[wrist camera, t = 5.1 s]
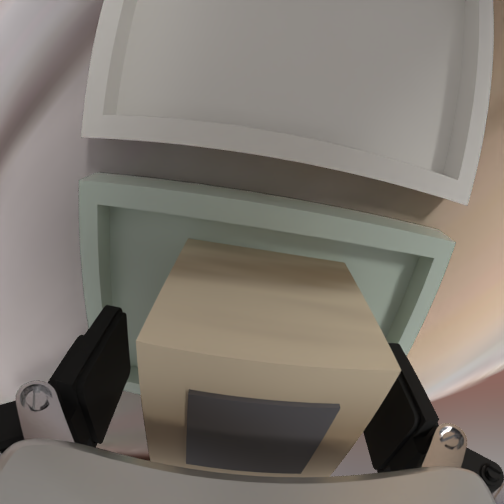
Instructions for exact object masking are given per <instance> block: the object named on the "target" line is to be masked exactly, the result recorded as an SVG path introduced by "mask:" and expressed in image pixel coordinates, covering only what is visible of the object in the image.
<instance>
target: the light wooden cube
mask: <svg viewBox="0 0 504 504" xmlns="http://www.w3.org/2000/svg"><path fill="white" fill-rule="evenodd" d="M136 351H137V363H138V374H139V384H140V393H141V402H142V410H143V418H144V425H145V431H146V438H147V444H148V450H149V456H150V461H152V462H157V463H162V464H167V465H172V466H178V467H183V468H189V469H196V470H203V471H210V472H218V473H227V474H238V475H250V476H266V477H330V475H331V474H332V473H333V472H334V470H335V469H336V468H337V467H338V465H339V464H340V463H341V461H342V460H343V459H344V457H345V456H346V455H347V453H348V452H349V451H350V449H351V448H352V447H353V445H354V444H355V443H356V441H357V440H358V438H359V437H360V435H361V434H362V433H363V431H364V430H365V428H366V427H367V425H368V424H369V422H370V421H371V419H372V418H373V416H374V415H375V413H376V412H377V410H378V409H379V407H380V405H381V404H382V402H383V401H384V399H385V397H386V396H387V394H388V392H389V391H390V389H391V387H392V386H393V384H394V382H395V381H396V379H397V377H398V375H399V374H400V372H401V369H400V366H399V364H398V362H397V360H396V358H395V356H394V354H393V352H392V350H391V348H390V346H389V344H388V342H387V340H386V338H385V336H384V334H383V332H382V330H381V329H380V327H379V325H378V323H377V321H376V319H375V317H374V315H373V313H372V311H371V309H370V308H369V306H368V304H367V302H366V300H365V298H364V296H363V295H362V293H361V291H360V289H359V287H358V286H357V284H356V282H355V280H354V278H353V277H352V275H351V273H350V271H349V269H348V268H347V266H346V264H345V263H344V262H338V261H331V260H325V259H318V258H312V257H306V256H299V255H293V254H286V253H280V252H273V251H267V250H261V249H254V248H248V247H241V246H235V245H228V244H222V243H215V242H209V241H202V240H195V239H189V238H188V239H187V241H186V243H185V245H184V247H183V249H182V251H181V252H180V254H179V256H178V258H177V260H176V262H175V264H174V266H173V268H172V269H171V271H170V273H169V275H168V277H167V279H166V281H165V283H164V285H163V287H162V289H161V291H160V293H159V295H158V297H157V299H156V301H155V303H154V305H153V307H152V309H151V311H150V313H149V315H148V317H147V319H146V321H145V323H144V325H143V327H142V329H141V331H140V333H139V335H138V337H137V339H136Z"/></svg>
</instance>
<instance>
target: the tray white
mask: <svg viewBox="0 0 504 504" xmlns="http://www.w3.org/2000/svg"><path fill="white" fill-rule="evenodd" d="M493 47H494V10H493V0H104V2H103V6H102V10H101V14H100V18H99V22H98V26H97V30H96V35H95V40H94V45H93V50H92V55H91V60H90V66H89V72H88V78H87V85H86V92H85V100H84V109H83V118H82V129H81V138H104V139H121V140H136V141H148V142H159V143H170V144H179V145H188V146H197V147H205V148H213V149H220V150H228V151H235V152H241V153H248V154H254V155H260V156H266V157H272V158H278V159H283V160H289V161H294V162H299V163H305V164H310V165H315V166H319V167H324V168H329V169H334V170H338V171H343V172H347V173H351V174H356V175H360V176H364V177H368V178H372V179H376V180H380V181H384V182H388V183H392V184H396V185H399V186H403V187H407V188H410V189H414V190H417V191H421V192H424V193H428V194H431V195H435V196H438V197H441V198H444V199H448V200H451V201H454V202H457V203H460V204H463V205H466V206H468V202H469V199H470V195H471V191H472V187H473V183H474V179H475V175H476V171H477V167H478V162H479V158H480V153H481V148H482V143H483V138H484V132H485V126H486V120H487V113H488V106H489V98H490V89H491V79H492V67H493Z"/></svg>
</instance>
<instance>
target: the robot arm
mask: <svg viewBox="0 0 504 504" xmlns="http://www.w3.org/2000/svg"><path fill="white" fill-rule="evenodd" d="M388 344H389V346H390V348H391V350H392V352H393V354H394V356H395V358H396V360H397V362H398V364H399V366H400V369H401V372H400V374H399V375H398V377H397V379H396V381H395V382H394V384H393V386H392V387H391V389H390V391H389V392H388V394H387V396H386V397H385V399H384V401H383V402H382V404H381V405H380V407H379V409H378V410H377V412H376V413H375V415H374V416H373V418H372V419H371V421H370V422H369V424H368V425H367V427H366V428H365V430H364V431H363V432H364V436H365V439H366V443H367V446H368V450H369V454H370V457H371V461H372V465H373V467H374V469H375V470H377V472H378V473H373V474H363V475H351V476H335V477H266V476H250V475H238V474H227V473H218V472H210V471H203V470H196V469H189V468H183V467H178V466H172V465H167V464H162V463H157V462H152V461H148V460H143V459H138V458H134V457H130V456H126V455H122V454H118V453H114V452H110V451H107V450H103V449H99V448H96V445H97V443H99V444H101V443H102V442H103V440H104V437H105V435H106V432H107V429H108V427H109V424H110V422H111V419H112V417H113V414H114V412H115V409H116V407H117V404H118V402H119V399H120V397H121V394H122V392H123V390H124V387H125V385H126V382H127V380H128V378H129V375H130V370H131V365H130V354H129V342H128V329H127V315H126V313H124V312H122V308H120V307H115V306H110V305H106V306H105V307H104V308H103V309H102V311H101V312H100V314H99V315H98V316H97V318H96V319H95V321H94V322H93V324H92V325H91V327H90V328H89V329H88V331H87V332H86V334H85V335H80V336H79V337H78V338H77V339H76V341H75V342H74V344H73V345H72V346H71V348H70V349H69V351H68V352H67V354H66V355H65V357H64V358H63V360H62V361H61V363H60V364H59V366H58V367H57V369H56V371H55V372H54V374H53V375H52V377H51V378H50V380H49V381H48V383H46V382H44V381H31V382H28V383H25V384H24V385H22V386H21V387H20V388H19V390H18V391H17V394H16V401H13V402H9V403H6V404H2V405H0V504H504V482H503V481H504V475H503V472H502V469H501V468H500V466H499V465H498V464H496V463H495V462H493V461H491V460H489V459H487V458H485V457H483V456H482V455H480V454H478V453H476V452H474V451H472V450H470V449H468V448H467V438H466V435H465V434H464V432H463V431H462V430H461V429H460V428H459V427H457V426H456V425H453V424H449V423H445V424H441V425H440V426H439V425H438V420H439V418H438V416H437V414H436V412H435V411H434V408H433V406H432V404H431V402H430V400H429V398H428V396H427V394H426V392H425V390H424V388H423V386H422V385H421V383H420V381H419V379H418V377H417V375H416V373H415V371H414V369H413V368H412V366H411V364H410V362H409V360H408V358H407V357H406V355H405V353H404V351H403V349H402V348H401V346H400V344H398V343H388Z"/></svg>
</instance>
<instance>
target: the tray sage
mask: <svg viewBox="0 0 504 504" xmlns="http://www.w3.org/2000/svg"><path fill="white" fill-rule="evenodd" d="M79 236H80V254H81V268H82V279H83V289H84V298H85V306H86V314H87V321H88V327H89V328H90V327H91V325H92V324H93V322H94V321H95V319H96V318H97V316H98V315H99V314H100V312H101V311H102V309H103V308H104V307H105V306H106V305H110V306H115V307H120V308H122V312H124V313H126V315H127V329H128V342H129V354H130V365H131V370H130V375H129V378H128V380H127V382H126V385H125V387H124V390H123V391H127V392H131V393H135V394H139V395H141V393H140V384H139V374H138V363H137V351H136V339H137V337H138V335H139V333H140V331H141V329H142V327H143V325H144V323H145V321H146V319H147V317H148V315H149V313H150V311H151V309H152V307H153V305H154V303H155V301H156V299H157V297H158V295H159V293H160V291H161V289H162V287H163V285H164V283H165V281H166V279H167V277H168V275H169V273H170V271H171V269H172V268H173V266H174V264H175V262H176V260H177V258H178V256H179V254H180V252H181V251H182V249H183V247H184V245H185V243H186V241H187V239H188V238H189V239H195V240H202V241H209V242H215V243H222V244H228V245H235V246H241V247H248V248H254V249H261V250H267V251H273V252H280V253H286V254H293V255H299V256H306V257H312V258H318V259H325V260H331V261H338V262H344V263H345V264H346V266H347V268H348V269H349V271H350V273H351V275H352V277H353V278H354V280H355V282H356V284H357V286H358V287H359V289H360V291H361V293H362V295H363V296H364V298H365V300H366V302H367V304H368V306H369V308H370V309H371V311H372V313H373V315H374V317H375V319H376V321H377V323H378V325H379V327H380V329H381V330H382V332H383V334H384V336H385V338H386V340H387V342H388V343H398V344H400V346H401V348H402V349H403V351H404V353H405V355H406V356H407V354H408V352H409V350H410V349H411V347H412V345H413V343H414V341H415V339H416V337H417V335H418V333H419V331H420V328H421V326H422V324H423V322H424V320H425V318H426V316H427V314H428V311H429V309H430V307H431V305H432V302H433V300H434V298H435V295H436V293H437V291H438V288H439V286H440V283H441V281H442V279H443V276H444V273H445V271H446V268H447V266H448V263H449V260H450V258H451V255H452V252H453V249H454V246H455V244H456V242H455V241H453V240H452V239H451V238H449V237H448V236H447V235H445V234H444V233H442V232H441V231H440V230H438V229H435V228H431V227H427V226H422V225H418V224H414V223H410V222H405V221H401V220H397V219H392V218H388V217H383V216H379V215H374V214H369V213H365V212H360V211H355V210H350V209H345V208H340V207H335V206H330V205H325V204H320V203H314V202H309V201H304V200H298V199H292V198H287V197H281V196H275V195H269V194H263V193H257V192H251V191H244V190H238V189H231V188H225V187H218V186H211V185H204V184H196V183H189V182H181V181H173V180H165V179H157V178H148V177H139V176H130V175H120V174H109V173H99V172H97V173H95V174H92V175H90V176H87V177H85V178H83V179H80V180H79Z"/></svg>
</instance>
